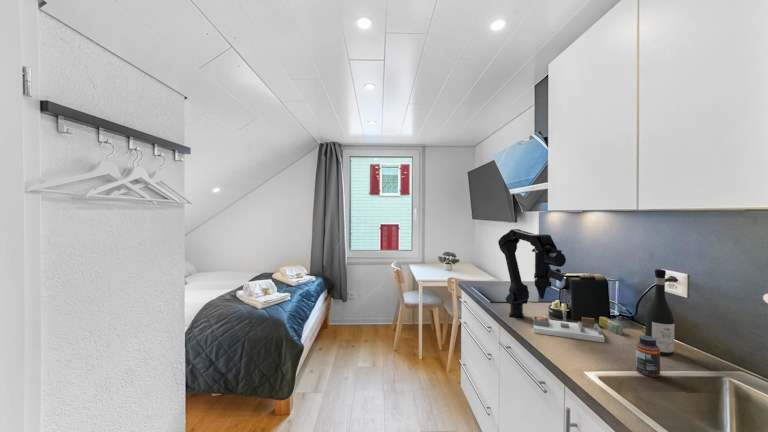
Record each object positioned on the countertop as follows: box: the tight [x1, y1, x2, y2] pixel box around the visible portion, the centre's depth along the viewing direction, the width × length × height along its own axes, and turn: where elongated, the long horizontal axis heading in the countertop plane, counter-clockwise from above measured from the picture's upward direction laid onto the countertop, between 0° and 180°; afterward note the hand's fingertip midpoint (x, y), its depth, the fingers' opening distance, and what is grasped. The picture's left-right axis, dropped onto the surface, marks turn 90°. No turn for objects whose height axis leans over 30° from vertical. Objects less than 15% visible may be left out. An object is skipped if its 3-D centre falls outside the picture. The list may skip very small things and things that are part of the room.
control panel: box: [533, 316, 605, 343], centre depth 139 cm, size 14×25×4 cm, turn 66°
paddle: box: [581, 316, 596, 328], centre depth 138 cm, size 1×4×4 cm, turn 66°
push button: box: [536, 316, 547, 321], centre depth 143 cm, size 4×4×2 cm
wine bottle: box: [644, 268, 675, 356], centre depth 119 cm, size 8×8×30 cm
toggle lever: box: [561, 310, 568, 322], centre depth 140 cm, size 2×2×4 cm
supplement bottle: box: [635, 335, 661, 378], centre depth 103 cm, size 6×6×11 cm
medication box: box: [598, 316, 624, 336], centre depth 141 cm, size 12×3×4 cm, turn 179°
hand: (542, 298), depth 142 cm, fingers closed
